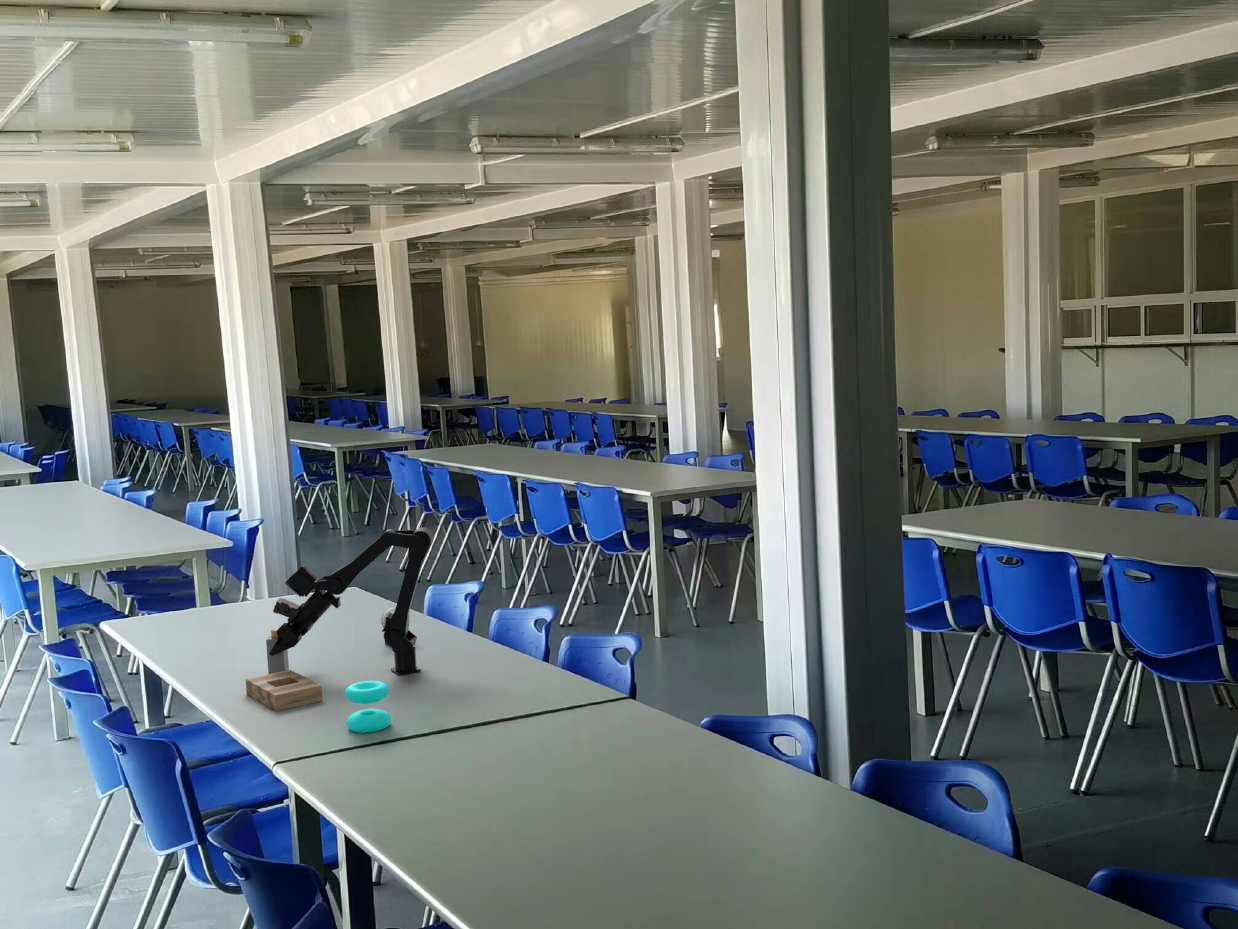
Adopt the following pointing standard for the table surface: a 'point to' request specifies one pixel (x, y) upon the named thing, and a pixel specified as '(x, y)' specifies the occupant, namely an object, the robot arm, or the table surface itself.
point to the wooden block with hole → (283, 690)
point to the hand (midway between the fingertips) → (274, 650)
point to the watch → (385, 618)
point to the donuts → (369, 717)
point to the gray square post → (278, 660)
